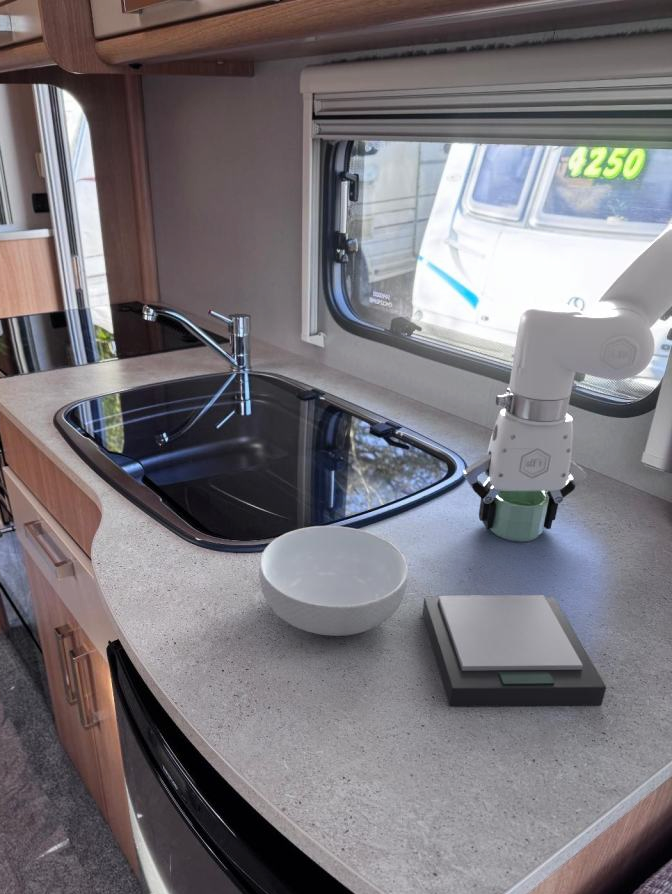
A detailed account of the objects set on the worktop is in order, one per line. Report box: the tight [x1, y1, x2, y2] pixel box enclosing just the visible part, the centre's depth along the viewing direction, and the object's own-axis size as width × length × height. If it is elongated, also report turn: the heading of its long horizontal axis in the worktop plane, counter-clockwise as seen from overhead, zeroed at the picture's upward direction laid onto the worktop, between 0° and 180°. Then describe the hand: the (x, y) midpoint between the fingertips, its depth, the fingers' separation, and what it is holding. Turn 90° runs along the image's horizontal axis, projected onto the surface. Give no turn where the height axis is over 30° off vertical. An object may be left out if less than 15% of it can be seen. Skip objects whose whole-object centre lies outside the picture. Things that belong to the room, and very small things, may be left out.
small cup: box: [490, 491, 549, 542], centre depth 100 cm, size 7×7×6 cm
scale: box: [422, 594, 607, 708], centre depth 77 cm, size 15×15×3 cm
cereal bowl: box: [258, 525, 409, 637], centre depth 82 cm, size 17×17×7 cm
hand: (515, 523), depth 101 cm, fingers closed on small cup, 7 cm apart
